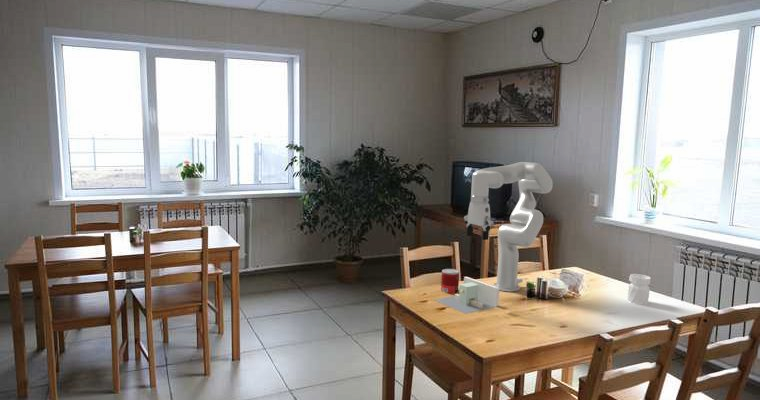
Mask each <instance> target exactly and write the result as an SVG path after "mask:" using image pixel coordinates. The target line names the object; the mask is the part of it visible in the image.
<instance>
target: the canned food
mask: <svg viewBox="0 0 760 400" xmlns="http://www.w3.org/2000/svg"><path fill="white" fill-rule="evenodd" d="M459 283H460V271H459V270H457V269H455V268H454V269H453V268H445V269H442V270H441V282H440V284H441V285H440V287H441V288H440V291H441V292H442V293H446V294H458V293H459V287H460V284H459Z"/></svg>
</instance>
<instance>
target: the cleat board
mask: <svg viewBox="0 0 760 400" xmlns="http://www.w3.org/2000/svg"><path fill="white" fill-rule="evenodd" d="M470 282H472V283H475V284H478V285H479V289H478V302H477V301H475V300H472V299H469V305H464V304H462V303H459V293H454V295H452V296H448V297H447V296H446V297H443V298H441V297H440V298H438V299H437V298H436V299H434V301H435V302H438V303H440V304H441V305H444V306H446V307H449V308H452V309H454V310H456V311H458V312H461V313H463V314H465V315H467V314H472V313H475V312H480V311H484V310H487V309H493V308H497V307H499V298H500V290H499V288H498V287H495V286H493V285H492V284H489V283H486V282H482V281H480V280H477V279H474V278H472V277H468V276H463V284H465V283H470Z"/></svg>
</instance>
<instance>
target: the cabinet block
mask: <svg viewBox="0 0 760 400" xmlns="http://www.w3.org/2000/svg"><path fill="white" fill-rule="evenodd" d="M478 289H479V285H478V284H475V283H472V282H470V283H465V284H464V283H460V284H459V287H458V294H459V303H462V304H464V305H469V299H472V300H475V301H477V302H478Z"/></svg>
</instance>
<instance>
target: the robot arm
mask: <svg viewBox="0 0 760 400" xmlns="http://www.w3.org/2000/svg"><path fill="white" fill-rule="evenodd" d="M471 175H472V176H471V192H470V201H469V206H468V211H467V214H466V215H464V217H463V219H464V223H465V227H466V236H467V237H472V236H473V235H474V227H473V226H479V227H481V228H482V229H483V230H482V234H481V235H482V238H481V239H482V240H483V241H486V240H489V235H490V234H489V233H490V231H491V229H492V228H493V226H494V221H493V220H492V219H491V206H490V203H489V202H490V199H489V188H490V189H499V188H501V187H502V186H503V185H504V184H505V185H506V184H513V183H515V182H518V190H519V191H518V193H519V199H518V201H517V203H516V205H515V207H514V208H513V210H512V212H511V214H510V216H509V222H510V223H505V224H502V225H501V226H499V228H498V230H497V239H498V242H497V243H498V257H497V274H496V282H495V283H493V285H492V286H495V287H498V288H499V291H501V292H502V291H503V292H518V291H520V289H521V287H520V285H519V283H523V282H524V280H523V278H518V273H519V272H518V271H519V270H518V269H519V255H520V254H519V249H518V247H521V248H522V247H523V248H529V247H531V246H532V245H533V244H534V241H535V240H536V238H537V236H538V234H539V233H540V230H541V229H542V226H543V224H544V215H543V213H542V212H541V211H540V210H538V209H535V208H536V205H537V202H536V198H535V197H534V194H533V193H535V194H536V193H537V194H549V193H550V192H551V191H552V189H553V186H554V185H553V183H554V182H553V179H552V177H551V176H550V174H549V173H548V172H547V170H546V168H544V167H543V166H542V165H541V164H540V163H537V162H528V161H520V162H519V161H518V162H515V163H512V164H508V165H500V166H493V167H492V166H491V167H485V168H482V169H477V170H476V171H475V172H473V173H472V174H471Z"/></svg>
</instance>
